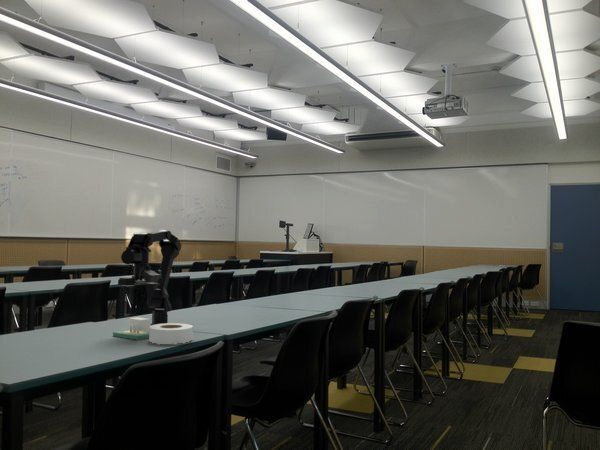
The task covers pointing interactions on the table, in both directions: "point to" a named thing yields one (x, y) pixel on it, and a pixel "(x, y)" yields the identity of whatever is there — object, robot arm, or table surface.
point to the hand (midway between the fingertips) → (140, 301)
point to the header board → (132, 333)
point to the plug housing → (140, 323)
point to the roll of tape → (170, 333)
